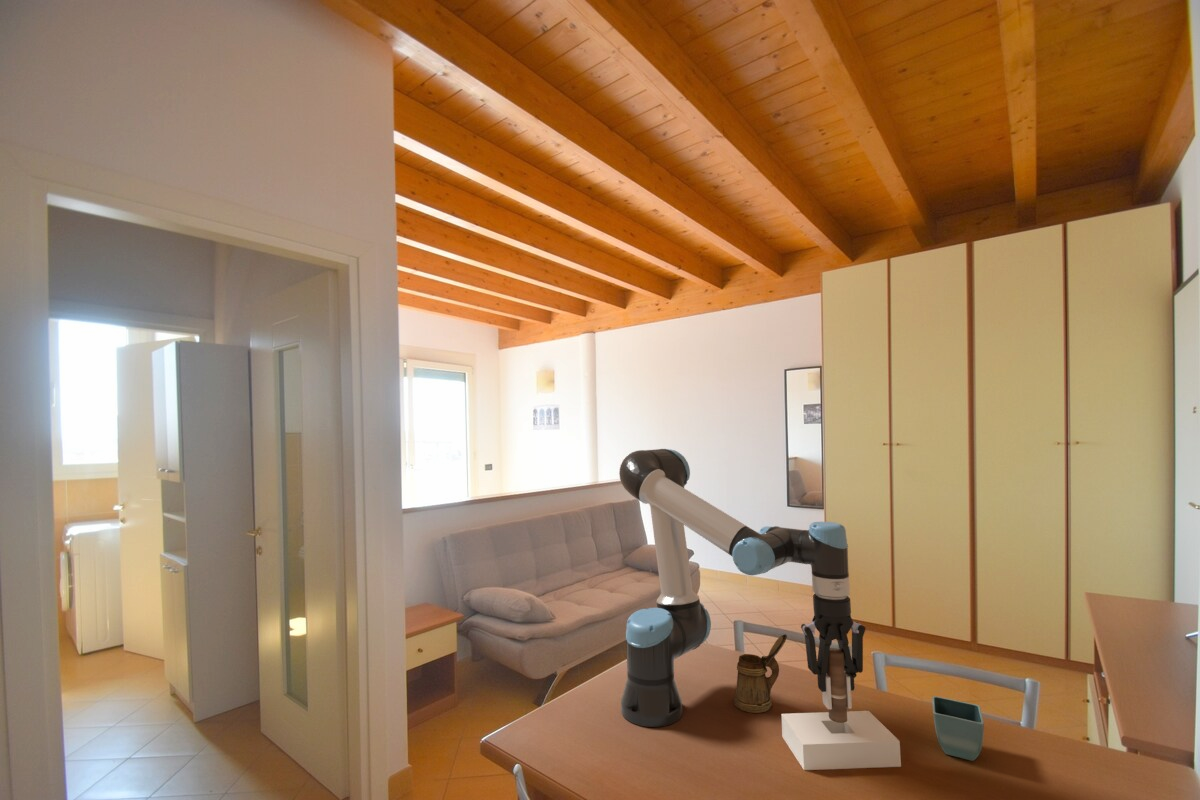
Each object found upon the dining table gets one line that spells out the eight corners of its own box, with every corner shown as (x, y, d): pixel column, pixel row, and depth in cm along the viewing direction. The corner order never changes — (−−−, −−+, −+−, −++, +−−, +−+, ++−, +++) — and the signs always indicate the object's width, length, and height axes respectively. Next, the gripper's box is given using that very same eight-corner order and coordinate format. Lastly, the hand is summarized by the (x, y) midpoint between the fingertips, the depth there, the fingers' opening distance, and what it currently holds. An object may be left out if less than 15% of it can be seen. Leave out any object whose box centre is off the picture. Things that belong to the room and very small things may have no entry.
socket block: (782, 736, 120) (781, 713, 120) (869, 733, 120) (868, 710, 121) (804, 770, 108) (802, 744, 108) (901, 766, 108) (899, 741, 109)
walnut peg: (825, 714, 116) (822, 648, 117) (842, 713, 116) (838, 647, 117) (833, 723, 112) (830, 655, 113) (850, 722, 113) (846, 654, 114)
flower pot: (982, 747, 114) (979, 704, 115) (987, 770, 107) (984, 723, 107) (934, 736, 119) (931, 695, 119) (935, 757, 111) (932, 713, 112)
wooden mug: (791, 718, 127) (787, 641, 129) (733, 710, 132) (730, 636, 133) (789, 700, 136) (786, 628, 137) (735, 693, 140) (732, 623, 141)
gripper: (800, 601, 112) (806, 716, 111) (878, 598, 113) (884, 713, 111) (787, 591, 120) (792, 698, 118) (860, 588, 120) (866, 695, 119)
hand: (837, 705), depth 115 cm, fingers closed on walnut peg, 4 cm apart
